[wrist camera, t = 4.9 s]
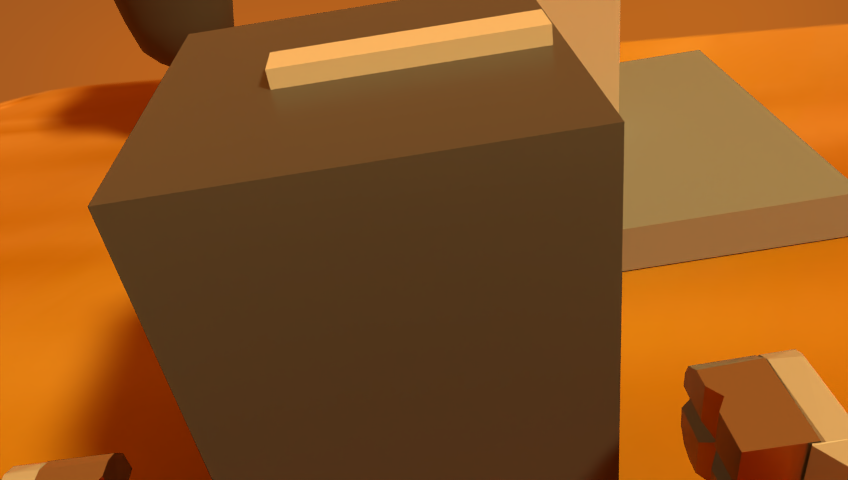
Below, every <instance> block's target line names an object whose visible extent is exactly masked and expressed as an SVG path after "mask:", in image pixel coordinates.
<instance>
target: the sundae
mask: <svg viewBox="0 0 848 480" xmlns="http://www.w3.org/2000/svg"><path fill="white" fill-rule="evenodd" d="M114 1H115V3H116V5H117V7H118V9H119V11H120V13H121V15H122V17H123V19H124V21H125V23H126V25H127V26H128V28H129V30H130V31H131V33H132V35H133V36H134V38H135V40H136V41H137V43H138V44H139V46H140V48H141V49H142V51H143V52H144V53H146V54H147V55H149V56H150V57H152V58H154V59H155V60H157V61H158V62H160V63H162V64H165V65H167V66H170V65H171V63H172V62H173V60H174V58H175V57H176V55H177V53H178V51H179V50H180V48H181V46H182V45H183V43H184V41H185V40H186V38H187V36H188V34H193V33H199V32H205V31H211V30H218V29H224V28H230V27H234V19H233V3H232V0H114Z"/></svg>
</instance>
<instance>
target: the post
mask: <svg viewBox="0 0 848 480" xmlns="http://www.w3.org/2000/svg"><path fill="white" fill-rule="evenodd" d="M537 2H538V3H539V5H540V6H541V7H542V9H543V10H544V11H545V13H546V14H547V16H548V17H549V18H550V20H551V21H552V22H553V24H554V25H555V27H556V28H557V29H558V31H559V32H560V34H561V35H562V36H563V38H564V39H565V40H566V42H567V43H568V45H569V46H570V47H571V49H572V50H573V51H574V53H575V54H576V56H577V57H578V58H579V60H580V61H581V62H582V64H583V65H584V67H585V68H586V69H587V71H588V72H589V73H590V75H591V76H592V78H593V79H594V80H595V82H596V83H597V84H598V86H599V87H600V89H601V90H602V91H603V93H604V94H605V96H606V97H607V98H608V100H609V101H610V102H611V104H612V105H613V107H614V108H615V109H616V111H617V112H618V113H619V115H620V116H621V118H622V119H623V120H624V122H625V124H624V184H623V244H622V271H628V270H634V269H641V268H647V267H654V266H660V265H666V264H673V263H679V262H686V261H692V260H698V259H705V258H711V257H718V256H724V255H731V254H737V253H743V252H750V251H756V250H763V249H769V248H775V247H782V246H788V245H795V244H801V243H807V242H814V241H820V240H827V239H833V238H839V237H846V236H848V179H847V178H846V177H845V176H843V175H842V174H841V173H840V172H839V171H838V170H837V169H835V168H834V167H833V166H832V165H831V164H830V163H828V162H827V161H826V160H825V159H824V158H823V157H822V156H820V155H819V154H818V153H817V152H816V151H815V150H814V149H812V148H811V147H810V146H809V145H808V144H807V143H806V142H804V141H803V140H802V139H801V138H800V137H799V136H797V135H796V134H795V133H794V132H793V131H792V130H791V129H789V128H788V127H787V126H786V125H785V124H784V123H783V122H781V121H780V120H779V119H778V118H777V117H776V116H774V115H773V114H772V113H771V112H770V111H769V110H768V109H766V108H765V107H764V106H763V105H762V104H761V103H760V102H758V101H757V100H756V99H755V98H754V97H753V96H752V95H750V94H749V93H748V92H747V91H746V90H745V89H743V88H742V87H741V86H740V85H739V84H738V83H737V82H735V81H734V80H733V79H732V78H731V77H730V76H729V75H727V74H726V73H725V72H724V71H723V70H722V69H721V68H719V67H718V66H717V65H716V64H715V63H714V62H712V61H711V60H710V59H709V58H708V57H707V56H706V55H704V54H703V53H702V52H701V51H700V50H696V51H690V52H683V53H677V54H671V55H664V56H658V57H652V58H646V59H639V60H633V61H627V62H620V63H619V60H620V0H537Z"/></svg>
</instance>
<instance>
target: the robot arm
mask: <svg viewBox="0 0 848 480" xmlns="http://www.w3.org/2000/svg"><path fill="white" fill-rule="evenodd" d="M684 387H685V389H686V391H687V393H688V395H689V397H690V400H689V401H688V402H687V403H686V404H685V405H684V406H683V407H682V415H681V427H682V434H683V440H684V445H685V448H686V451H687V454H688V457H689V459H690V462H691V464H692V466H693V468H694V470H695V473H697V474H698V475H700V476H701V477H703V478H704V479H706V480H848V414H847V412H846V411H845V410H844V408H843V407H842V406H841V404H840V403H839V402H838V400H837V399H836V398H835V396H834V395H833V394H832V392H831V391H830V390H829V388H828V387H827V386H826V384H825V383H824V382H823V380H822V379H821V378H820V376H819V375H818V374H817V372H816V371H815V370H814V368H813V367H812V366H811V364H810V363H809V362H808V360H807V359H806V358H805V356H804V355H803V354H802V353H801V352H799V351H797V350H795V349H793V350H787V351H781V352H774V353H768V354H762V355H759V356H755V355H754V356H748V357H742V358H736V359H730V360H723V361H717V362H711V363H705V364H699V365H692V366H688V368H687V370H686V372H685V379H684ZM131 470H132V468H131V466H130V464H129V463H128V461H127V459H126V458H125V456H124V454H121V453H111V454H103V455H95V456H87V457H79V458H71V459H63V460H55V461H48V462H43V463H35V464H28V465H20V466H14V467H12V468H11V469H10V470H9V471H8V472H7V473H5V474H4V476H3V477H2V479H1V480H129V477H130V474H131Z"/></svg>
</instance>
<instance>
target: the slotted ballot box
mask: <svg viewBox="0 0 848 480" xmlns="http://www.w3.org/2000/svg"><path fill="white" fill-rule="evenodd" d="M624 124H625V122H624V120H623V119H622V118H621V116H620V115H619V113H618V112H617V111H616V109H615V108H614V107H613V105H612V104H611V102H610V101H609V100H608V98H607V97H606V96H605V94H604V93H603V91H602V90H601V89H600V87H599V86H598V84H597V83H596V82H595V80H594V79H593V78H592V76H591V75H590V73H589V72H588V71H587V69H586V68H585V67H584V65H583V64H582V62H581V61H580V60H579V58H578V57H577V56H576V54H575V53H574V51H573V50H572V49H571V47H570V46H569V45H568V43H567V42H566V40H565V39H564V38H563V36H562V35H561V34H560V32H559V31H558V29H557V28H556V27H555V25H554V24H553V22H552V21H551V20H550V18H549V17H548V16H547V14H546V13H545V11H544V10H543V9H542V7H541V6H540V5H539V3H538V2H537V0H398V1H392V2H387V3H380V4H373V5H368V6H362V7H355V8H348V9H343V10H336V11H330V12H324V13H317V14H311V15H305V16H299V17H292V18H286V19H280V20H274V21H268V22H262V23H255V24H249V25H242V26H237V27H230V28H224V29H218V30H211V31H205V32H199V33H193V34H188V36H187V38H186V40H185V41H184V43H183V45H182V46H181V48H180V50H179V51H178V53H177V55H176V57H175V58H174V60H173V62H172V63H171V65H170V67H169V69H168V70H167V72H166V74H165V76H164V77H163V79H162V81H161V82H160V84H159V86H158V87H157V89H156V91H155V92H154V94H153V96H152V98H151V99H150V101H149V103H148V104H147V106H146V108H145V110H144V111H143V113H142V115H141V116H140V118H139V120H138V122H137V123H136V125H135V127H134V128H133V130H132V132H131V133H130V135H129V137H128V139H127V140H126V142H125V144H124V145H123V147H122V149H121V151H120V152H119V154H118V156H117V157H116V159H115V161H114V162H113V164H112V166H111V168H110V169H109V171H108V173H107V174H106V176H105V178H104V180H103V181H102V183H101V185H100V186H99V188H98V190H97V192H96V193H95V195H94V197H93V198H92V200H91V202H90V203H89V205H88V208H89V211H90V213H91V215H92V217H93V219H94V222H95V224H96V226H97V228H98V230H99V233H100V235H101V237H102V239H103V241H104V244H105V246H106V248H107V250H108V252H109V254H110V257H111V259H112V261H113V263H114V265H115V268H116V270H117V272H118V274H119V276H120V279H121V281H122V283H123V285H124V287H125V290H126V292H127V294H128V296H129V298H130V301H131V303H132V305H133V307H134V309H135V312H136V314H137V316H138V318H139V320H140V322H141V325H142V327H143V329H144V331H145V333H146V336H147V338H148V340H149V342H150V344H151V347H152V349H153V351H154V353H155V355H156V358H157V360H158V362H159V364H160V366H161V369H162V371H163V373H164V375H165V377H166V379H167V382H168V384H169V386H170V388H171V390H172V393H173V395H174V397H175V399H176V401H177V404H178V406H179V408H180V410H181V412H182V415H183V417H184V419H185V421H186V423H187V426H188V428H189V430H190V432H191V434H192V436H193V439H194V441H195V443H196V445H197V447H198V450H199V452H200V454H201V456H202V458H203V461H204V463H205V465H206V467H207V469H208V472H209V474H210V476H211V478H212V480H619V423H620V363H621V304H622V244H623V184H624Z"/></svg>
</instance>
